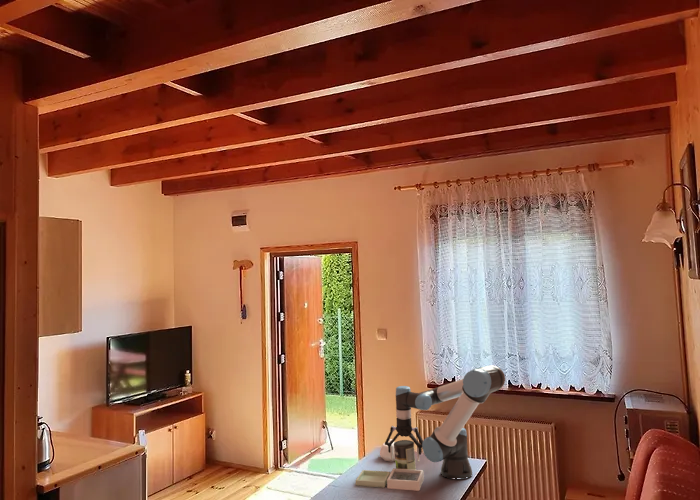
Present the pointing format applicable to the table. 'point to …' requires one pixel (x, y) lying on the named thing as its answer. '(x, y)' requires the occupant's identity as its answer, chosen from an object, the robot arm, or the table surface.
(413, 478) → the plate
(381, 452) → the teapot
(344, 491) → the table surface
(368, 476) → the tray
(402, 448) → the coffee can
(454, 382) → the robot arm
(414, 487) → the checker cradle
